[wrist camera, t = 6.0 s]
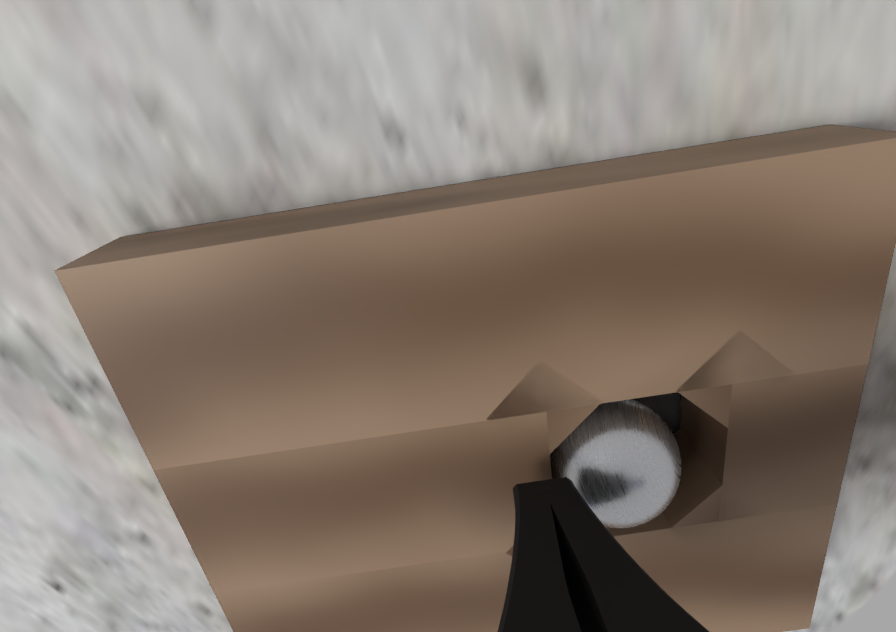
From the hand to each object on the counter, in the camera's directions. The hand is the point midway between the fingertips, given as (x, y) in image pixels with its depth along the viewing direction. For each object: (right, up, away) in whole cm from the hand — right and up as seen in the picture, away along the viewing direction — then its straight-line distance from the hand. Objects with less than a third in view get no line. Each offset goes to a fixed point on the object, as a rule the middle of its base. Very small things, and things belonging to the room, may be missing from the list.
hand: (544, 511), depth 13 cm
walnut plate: (-1, +1, +3) cm, 3 cm away
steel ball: (+2, +1, +2) cm, 3 cm away
